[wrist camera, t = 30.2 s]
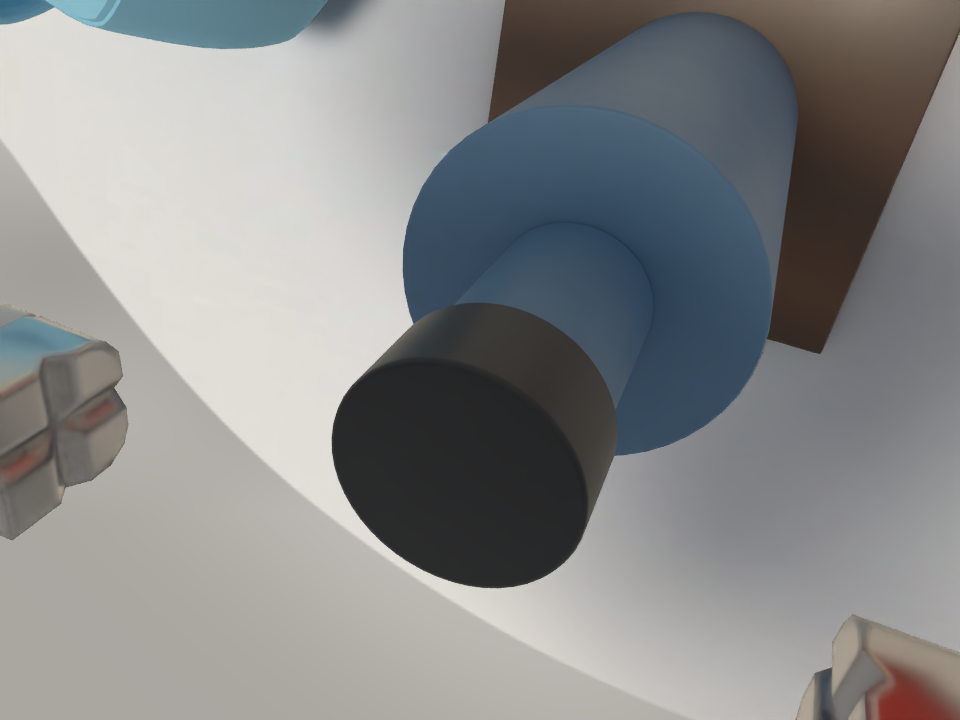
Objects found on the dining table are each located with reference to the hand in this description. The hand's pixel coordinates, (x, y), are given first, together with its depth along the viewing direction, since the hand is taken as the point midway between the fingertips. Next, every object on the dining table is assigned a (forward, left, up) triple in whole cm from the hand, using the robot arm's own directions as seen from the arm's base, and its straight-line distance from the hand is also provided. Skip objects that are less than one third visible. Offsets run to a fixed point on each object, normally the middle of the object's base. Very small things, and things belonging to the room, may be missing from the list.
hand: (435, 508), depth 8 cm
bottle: (0, +4, -18) cm, 18 cm away
